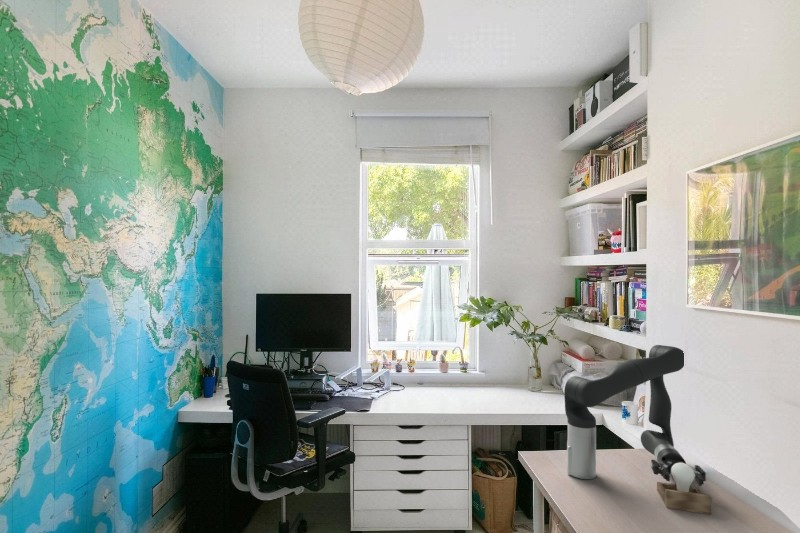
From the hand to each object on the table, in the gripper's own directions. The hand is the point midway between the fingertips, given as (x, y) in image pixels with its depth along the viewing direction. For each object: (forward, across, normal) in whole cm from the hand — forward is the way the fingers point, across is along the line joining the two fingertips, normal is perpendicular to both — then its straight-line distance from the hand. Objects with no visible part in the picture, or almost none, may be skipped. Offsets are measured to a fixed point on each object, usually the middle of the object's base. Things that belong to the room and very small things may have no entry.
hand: (684, 480), depth 132 cm
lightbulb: (-2, 0, +7) cm, 7 cm away
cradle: (-2, 0, +7) cm, 8 cm away
